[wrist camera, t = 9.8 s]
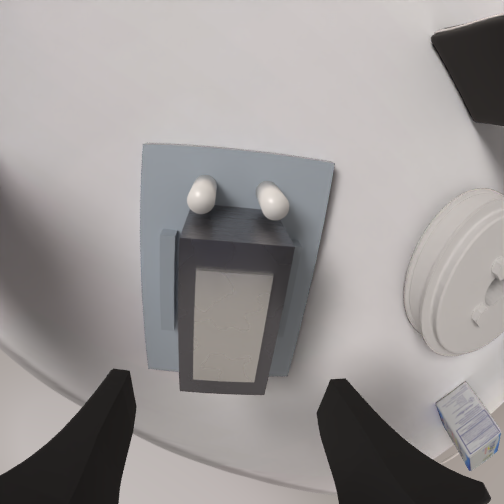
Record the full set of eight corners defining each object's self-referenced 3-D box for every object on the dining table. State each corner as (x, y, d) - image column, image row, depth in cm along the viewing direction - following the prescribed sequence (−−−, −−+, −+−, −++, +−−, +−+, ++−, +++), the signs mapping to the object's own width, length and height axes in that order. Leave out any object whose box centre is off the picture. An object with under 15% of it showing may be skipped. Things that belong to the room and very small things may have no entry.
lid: (473, 149, 17) (524, 162, 12) (524, 248, 21) (559, 272, 16) (365, 284, 20) (397, 327, 16) (441, 350, 24) (468, 385, 20)
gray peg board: (150, 361, 21) (141, 399, 18) (146, 142, 15) (125, 149, 12) (285, 368, 23) (294, 406, 19) (330, 161, 17) (356, 173, 13)
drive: (187, 333, 19) (179, 393, 15) (192, 203, 16) (178, 239, 11) (255, 337, 20) (264, 397, 15) (275, 210, 17) (296, 249, 12)
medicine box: (434, 402, 28) (467, 459, 20) (465, 379, 27) (503, 432, 19) (442, 424, 31) (469, 473, 23) (470, 405, 30) (499, 451, 22)
